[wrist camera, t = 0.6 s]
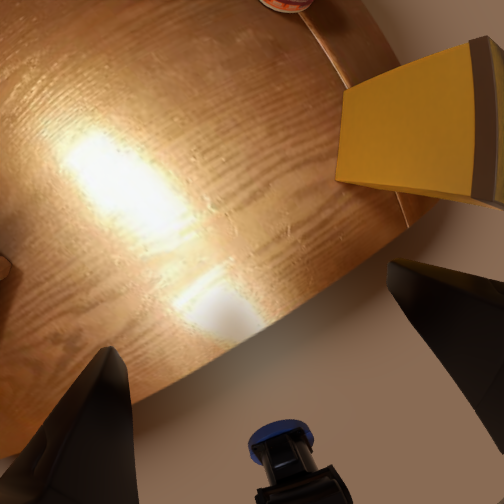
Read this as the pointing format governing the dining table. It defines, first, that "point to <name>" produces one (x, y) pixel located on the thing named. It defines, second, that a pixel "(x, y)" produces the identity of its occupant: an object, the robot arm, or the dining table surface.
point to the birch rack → (4, 267)
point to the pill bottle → (287, 5)
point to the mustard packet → (430, 127)
